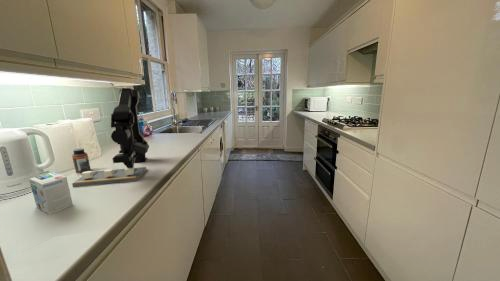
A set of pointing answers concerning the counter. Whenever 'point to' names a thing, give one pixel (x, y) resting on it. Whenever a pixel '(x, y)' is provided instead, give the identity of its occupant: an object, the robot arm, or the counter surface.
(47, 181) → the light bulb box
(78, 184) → the switch panel
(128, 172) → the switch
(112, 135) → the robot arm
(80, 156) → the supplement bottle
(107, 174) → the switch middle
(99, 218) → the counter surface
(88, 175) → the switch right
